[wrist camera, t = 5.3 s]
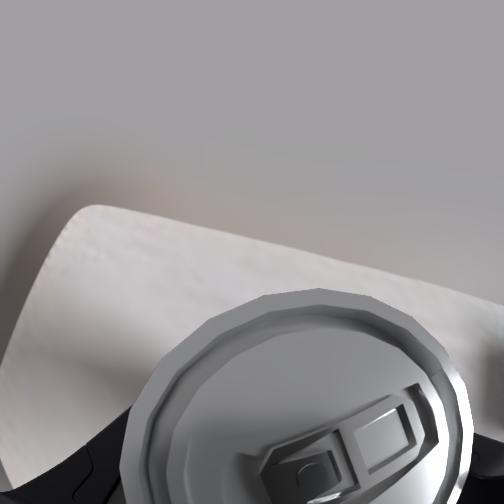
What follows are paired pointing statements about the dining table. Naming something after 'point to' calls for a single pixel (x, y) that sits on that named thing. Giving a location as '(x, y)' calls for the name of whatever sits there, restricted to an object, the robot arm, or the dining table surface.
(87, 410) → the dining table surface
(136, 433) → the beer can
